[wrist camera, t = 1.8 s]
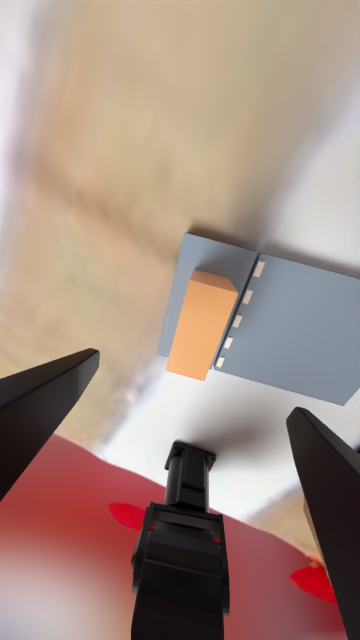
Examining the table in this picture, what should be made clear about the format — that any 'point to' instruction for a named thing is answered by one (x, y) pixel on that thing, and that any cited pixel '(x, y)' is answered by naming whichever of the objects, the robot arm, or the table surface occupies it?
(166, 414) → the table surface
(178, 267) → the stub
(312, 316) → the ticket board
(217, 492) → the table surface
